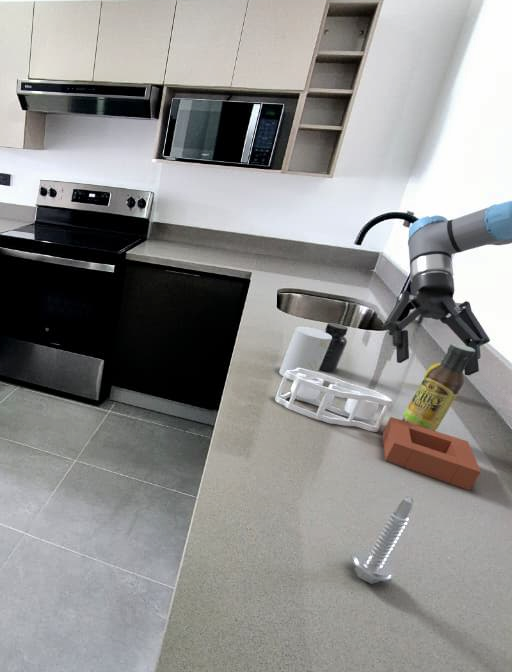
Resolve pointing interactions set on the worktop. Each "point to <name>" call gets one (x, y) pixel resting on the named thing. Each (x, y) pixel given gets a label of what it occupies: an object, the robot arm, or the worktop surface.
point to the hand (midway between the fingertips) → (437, 366)
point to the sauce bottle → (439, 389)
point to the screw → (382, 547)
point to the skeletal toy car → (357, 406)
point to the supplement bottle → (334, 346)
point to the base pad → (430, 453)
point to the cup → (306, 350)
